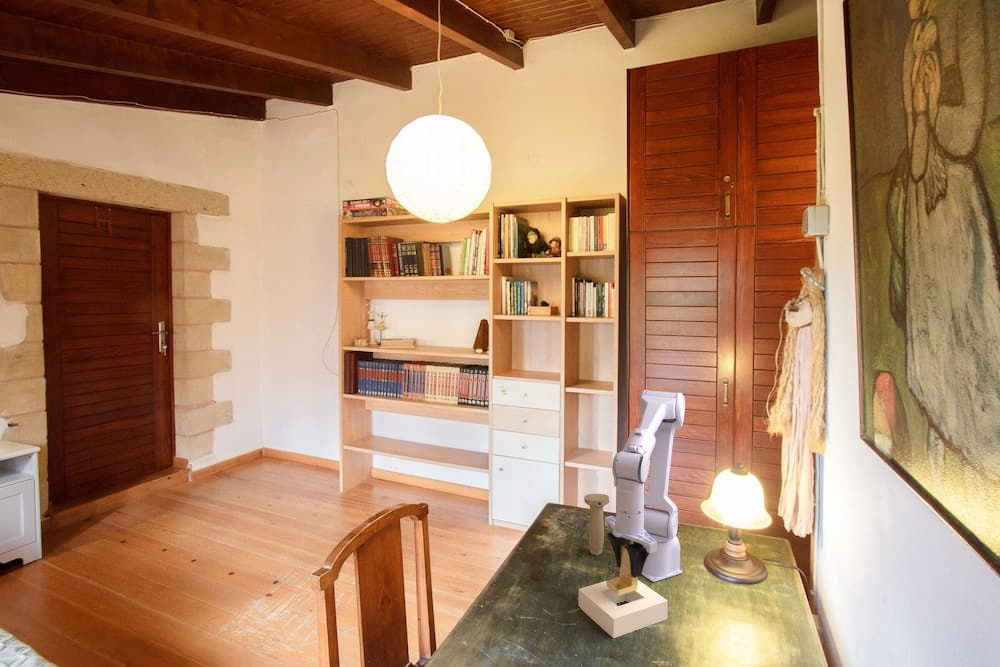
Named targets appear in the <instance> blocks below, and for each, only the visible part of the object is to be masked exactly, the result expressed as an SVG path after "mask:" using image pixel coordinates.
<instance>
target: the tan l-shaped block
mask: <svg viewBox="0 0 1000 667" xmlns="http://www.w3.org/2000/svg"><path fill="white" fill-rule="evenodd" d="M638 578H639V576H638V577H635V578H633V577H632V576H631V571H630V559H629V554H628V551H627V549H626V544H624V545H620V568H619V576H618V577H614V578H611V579H607V580H606V581H607V582H606V586H607V587H608V588H609V589H611V590H612V591H613V592H614V593H616V594H617V595H618V596H619V595H622V594H625V593H629V592H632V591H635V590H637V586H638V580H639V579H638Z"/></svg>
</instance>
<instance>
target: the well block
mask: <svg viewBox="0 0 1000 667" xmlns="http://www.w3.org/2000/svg"><path fill="white" fill-rule="evenodd" d="M606 582H607V580H604V581H601V582H598V583H594V584H590V585H588V586H585V587H581V588H580V587H579V588H578V607H580V608H581V609H580V608H579V609H580V610H582V612H584V614H586V615H587V616H588V617H589V618H590V619H591V620H592V621H594V622H595V623H596V625H598V626H599V627H601V629H602V630H603V631H605V633H607V634H608V635H609V636H610V637H611V638H612V639H615V638H619V637H621V636H624V635H627V634H630V633H633V632H635V630H636V631H638V630H640V629H643V628H646V627H649V626H652V625H655V624H657V623H660V622H664V621H667V620H668V613H669V612H668V610H669V609H668V605H669V604H668V602H669V601H668V600H667V599H666V598H665V597H663V596H662V595H660V594H659V593H658V592H656V591H655V590H653V589H651V587H649V586H648V585H646V584H645V583H643V582H642V581H640V580H639V579H638V586H637V590H635V591H632V592H629V593H625V594H622V595H619V596H618V595H617V594H616V593H614V592H613V591H612V590H611V589H609V588H608V587H607V586H606ZM624 601H625V602H626V601H627V602H628V603H627V602H626V603H625V602H624ZM620 602H622V603H624V604H622V605H618V604H617V603H619V604H621V603H620Z"/></svg>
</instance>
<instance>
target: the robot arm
mask: <svg viewBox="0 0 1000 667" xmlns="http://www.w3.org/2000/svg"><path fill="white" fill-rule="evenodd" d="M639 396H640V397H639V411H640V415H641V418H640V420H639V424H638V427H637V428H636V427H635V428H634V429H632V431H631V432H630V434H629V435H628V438H627V440H626V442H625V444H624V447H623V449H622V450H621V451H619V452H616V453H615V455H614V457H613V461H612V467H611V472H612V476H613V485H614V487H616V490H615V491H616V492H615V493H616V496H615V498H616V501H615V506H616V507H615V509H616V510H615V516H613V515H609V516H604V527H606V528H611V529H612V530H611V532H607V534H606V537H607V539H608V540H609V542H610V545H611V547H612V550H613V554H614V557H615V562H616V566H617V567H618V568H619V569H620V545H624V544H626V549H627V551H628V554H629V559H630V571H631V576H632V577H633V578H635V577H638V578H639V577H642V576H643V577H644V578H646V579H647V580H649V581H650V582H652V583H655V582H658V581H659V582H660V581H663V580H664V579H667V578H671V577H674V576H678V575H681V574H683V570H682V569H681V544H680V541H679V538H678V537H677V533H678V527H679V515H678V513H679V510H678V506H677V505H676V503H675V502H673V500H671V498H670V497H668V493H669V492H668V491H669V482H670V474H671V473H670V472H671V463H672V455H673V446H674V445H673V443H674V436H675V433H676V430H677V429H678V430H679V429H680V428H682V427H683V424H684V421H685V420H684V419H685V412H686V410H685V408H686V398H685V396H684V395H683V393H682V392H671V391H661V390H660V391H658V390H648V389H644V390H643V391H641V394H640V395H639ZM650 458H651V459H650ZM648 475H649V477H648ZM647 478H648V484H647V493H646V494H645V482H646V481H647ZM648 506H649V507H648ZM658 508H659V509H658ZM631 541H632V542H633V543H631Z"/></svg>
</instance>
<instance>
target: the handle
mask: <svg viewBox="0 0 1000 667" xmlns="http://www.w3.org/2000/svg"><path fill="white" fill-rule="evenodd" d="M583 501H584V503H585V504H586V505H588V506H589V522H588V544H589V552H590V554H591V555H593V556H594V555H595V556H600V555H602V554H603V551H604V549H603V548H604V542H605V540H604V539H605V520H604V507H605V506H607V505H608V504H609V503H610V496H608V494H604V493H590V494H585V495H584V496H583Z"/></svg>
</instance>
